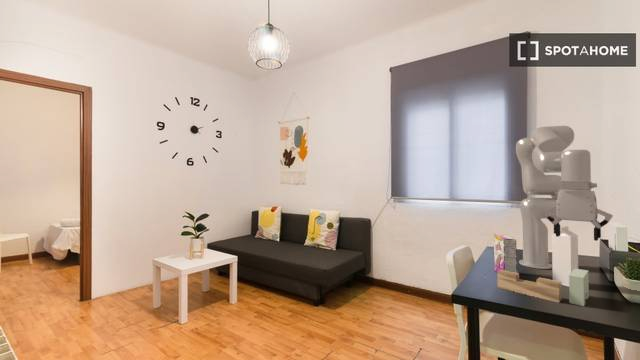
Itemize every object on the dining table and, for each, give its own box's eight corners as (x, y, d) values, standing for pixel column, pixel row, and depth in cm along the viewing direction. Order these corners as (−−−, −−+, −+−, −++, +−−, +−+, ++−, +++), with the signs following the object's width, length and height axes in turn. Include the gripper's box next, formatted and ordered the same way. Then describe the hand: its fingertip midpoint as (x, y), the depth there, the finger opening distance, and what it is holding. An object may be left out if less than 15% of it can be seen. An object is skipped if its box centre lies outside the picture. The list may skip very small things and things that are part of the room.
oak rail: (500, 285, 111) (500, 269, 111) (561, 299, 97) (561, 281, 98) (497, 287, 109) (497, 271, 109) (559, 302, 95) (558, 284, 95)
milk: (578, 284, 111) (578, 227, 111) (571, 287, 108) (571, 228, 108) (559, 280, 117) (559, 225, 117) (551, 282, 114) (551, 226, 114)
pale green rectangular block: (575, 294, 102) (574, 268, 102) (588, 296, 100) (588, 270, 100) (569, 302, 95) (569, 275, 95) (583, 306, 92) (583, 277, 92)
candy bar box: (493, 270, 129) (493, 233, 129) (505, 271, 128) (505, 234, 128) (503, 279, 118) (503, 238, 118) (517, 279, 117) (517, 239, 117)
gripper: (613, 186, 94) (614, 240, 93) (546, 186, 107) (547, 233, 107) (610, 187, 89) (611, 243, 89) (541, 186, 102) (541, 235, 102)
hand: (576, 238), depth 98 cm, fingers open, 9 cm apart
